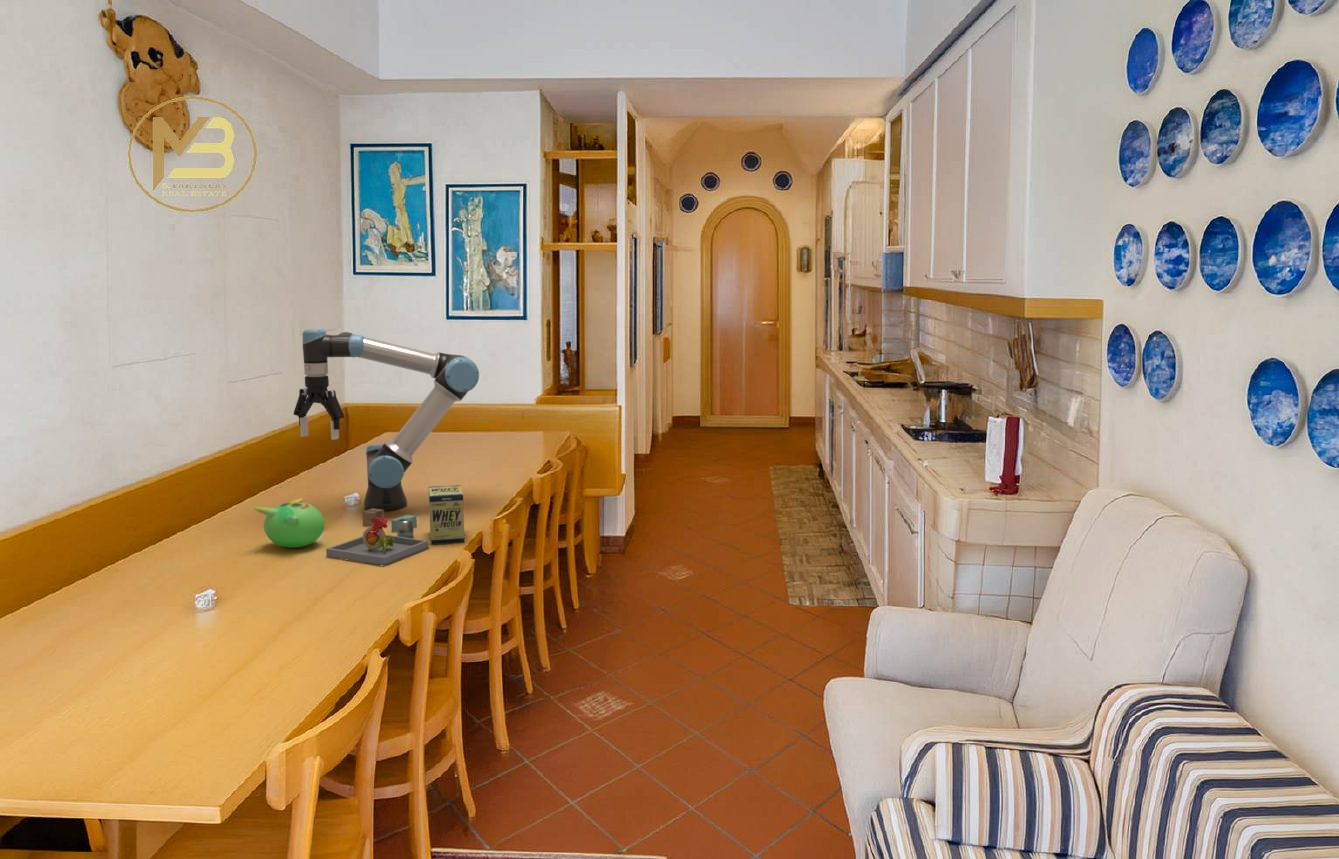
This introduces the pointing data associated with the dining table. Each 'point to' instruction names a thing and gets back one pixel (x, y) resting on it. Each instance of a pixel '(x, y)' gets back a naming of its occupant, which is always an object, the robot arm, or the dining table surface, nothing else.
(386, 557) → the tray
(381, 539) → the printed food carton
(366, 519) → the walnut cube
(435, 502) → the protein box
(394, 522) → the teal brick
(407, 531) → the metal cylinder
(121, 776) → the dining table surface
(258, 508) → the green rounded blob
